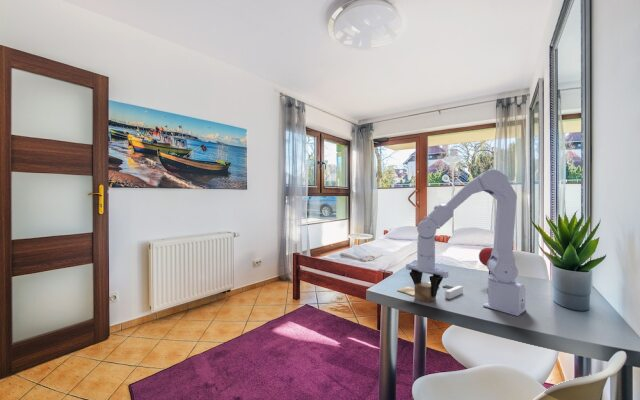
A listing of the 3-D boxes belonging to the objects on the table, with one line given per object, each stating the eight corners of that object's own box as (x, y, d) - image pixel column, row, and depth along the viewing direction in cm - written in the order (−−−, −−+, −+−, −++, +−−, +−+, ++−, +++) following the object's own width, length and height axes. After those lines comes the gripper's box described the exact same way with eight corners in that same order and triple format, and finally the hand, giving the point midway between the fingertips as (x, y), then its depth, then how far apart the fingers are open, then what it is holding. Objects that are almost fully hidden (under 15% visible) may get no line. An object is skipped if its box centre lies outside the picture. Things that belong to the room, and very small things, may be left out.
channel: (462, 293, 99) (462, 286, 99) (449, 299, 93) (449, 292, 93) (435, 286, 107) (435, 279, 107) (421, 291, 101) (421, 284, 101)
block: (435, 299, 92) (435, 284, 92) (428, 302, 89) (428, 287, 89) (422, 295, 96) (422, 281, 96) (414, 298, 93) (414, 284, 93)
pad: (424, 292, 100) (424, 291, 100) (413, 296, 95) (413, 295, 95) (408, 287, 105) (408, 286, 105) (397, 290, 101) (397, 289, 101)
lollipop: (500, 288, 104) (500, 250, 104) (477, 284, 109) (477, 248, 109) (501, 283, 110) (501, 247, 110) (480, 280, 115) (480, 245, 115)
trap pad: (461, 289, 103) (461, 289, 103) (457, 291, 101) (457, 290, 101) (446, 285, 108) (446, 285, 108) (442, 287, 106) (442, 286, 106)
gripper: (452, 256, 90) (452, 297, 90) (413, 250, 101) (413, 286, 101) (442, 259, 86) (442, 302, 86) (402, 252, 97) (402, 290, 97)
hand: (426, 294), depth 93 cm, fingers closed on block, 5 cm apart
